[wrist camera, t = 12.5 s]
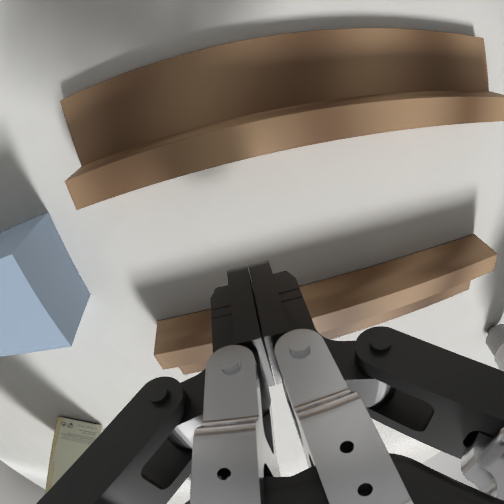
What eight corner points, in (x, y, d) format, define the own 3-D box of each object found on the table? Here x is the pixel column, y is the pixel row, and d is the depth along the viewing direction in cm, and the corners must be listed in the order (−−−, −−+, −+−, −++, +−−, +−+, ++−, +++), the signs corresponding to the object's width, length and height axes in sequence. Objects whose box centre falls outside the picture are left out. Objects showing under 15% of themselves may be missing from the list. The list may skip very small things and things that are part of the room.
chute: (475, 37, 11) (509, 40, 9) (464, 284, 19) (483, 305, 17) (65, 99, 11) (38, 106, 8) (183, 367, 19) (183, 399, 17)
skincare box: (57, 413, 21) (37, 538, 11) (104, 423, 22) (94, 554, 12) (71, 443, 24) (59, 547, 14) (112, 451, 25) (107, 558, 15)
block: (49, 210, 13) (12, 253, 10) (91, 292, 16) (71, 346, 12) (-32, 247, 13) (-67, 287, 10) (7, 312, 16) (-17, 358, 12)
